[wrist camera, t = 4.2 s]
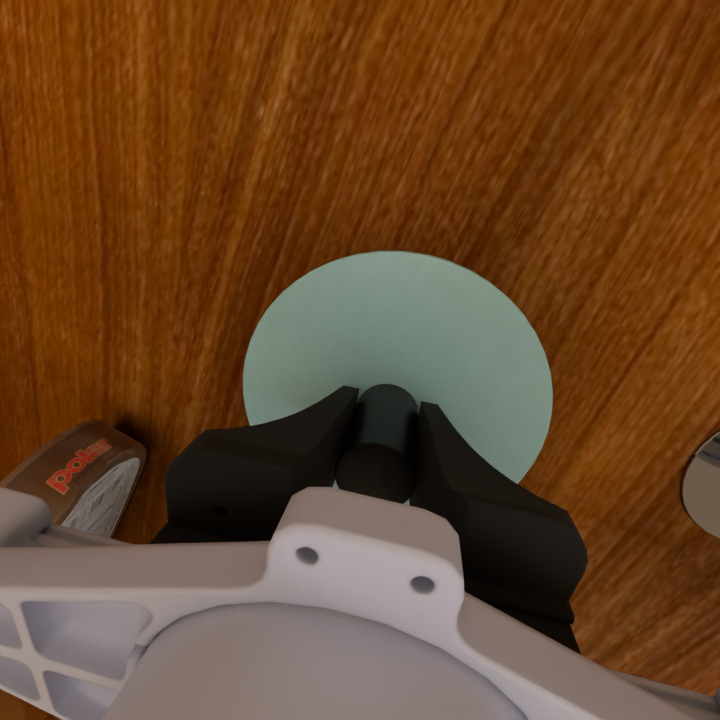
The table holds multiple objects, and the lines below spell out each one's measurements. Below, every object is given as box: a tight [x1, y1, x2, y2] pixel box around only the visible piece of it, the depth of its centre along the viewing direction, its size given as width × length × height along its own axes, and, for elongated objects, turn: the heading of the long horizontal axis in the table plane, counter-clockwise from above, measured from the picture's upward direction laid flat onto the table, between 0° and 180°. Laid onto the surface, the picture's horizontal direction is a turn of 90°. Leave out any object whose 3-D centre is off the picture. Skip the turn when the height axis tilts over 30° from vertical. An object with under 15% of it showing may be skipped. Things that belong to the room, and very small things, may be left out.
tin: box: [0, 420, 147, 538], centre depth 18 cm, size 15×3×8 cm, turn 149°
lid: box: [243, 250, 553, 506], centre depth 13 cm, size 12×12×5 cm
